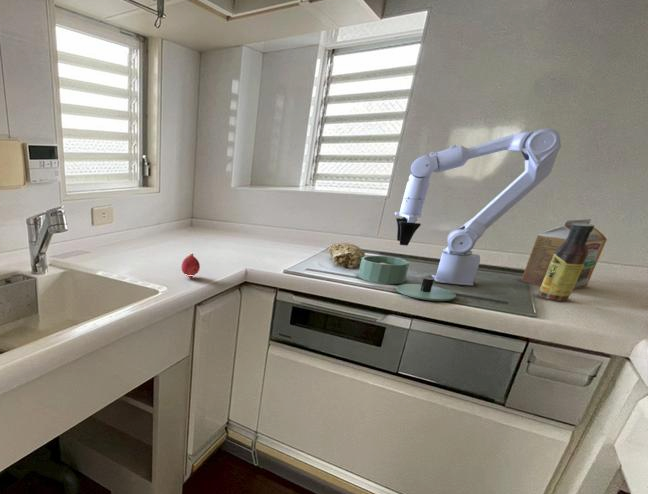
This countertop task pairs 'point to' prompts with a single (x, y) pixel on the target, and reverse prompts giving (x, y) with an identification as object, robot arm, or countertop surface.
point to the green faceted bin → (383, 269)
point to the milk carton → (549, 245)
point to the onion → (190, 265)
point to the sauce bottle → (566, 264)
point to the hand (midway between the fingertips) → (402, 242)
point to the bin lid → (426, 291)
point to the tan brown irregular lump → (346, 254)
